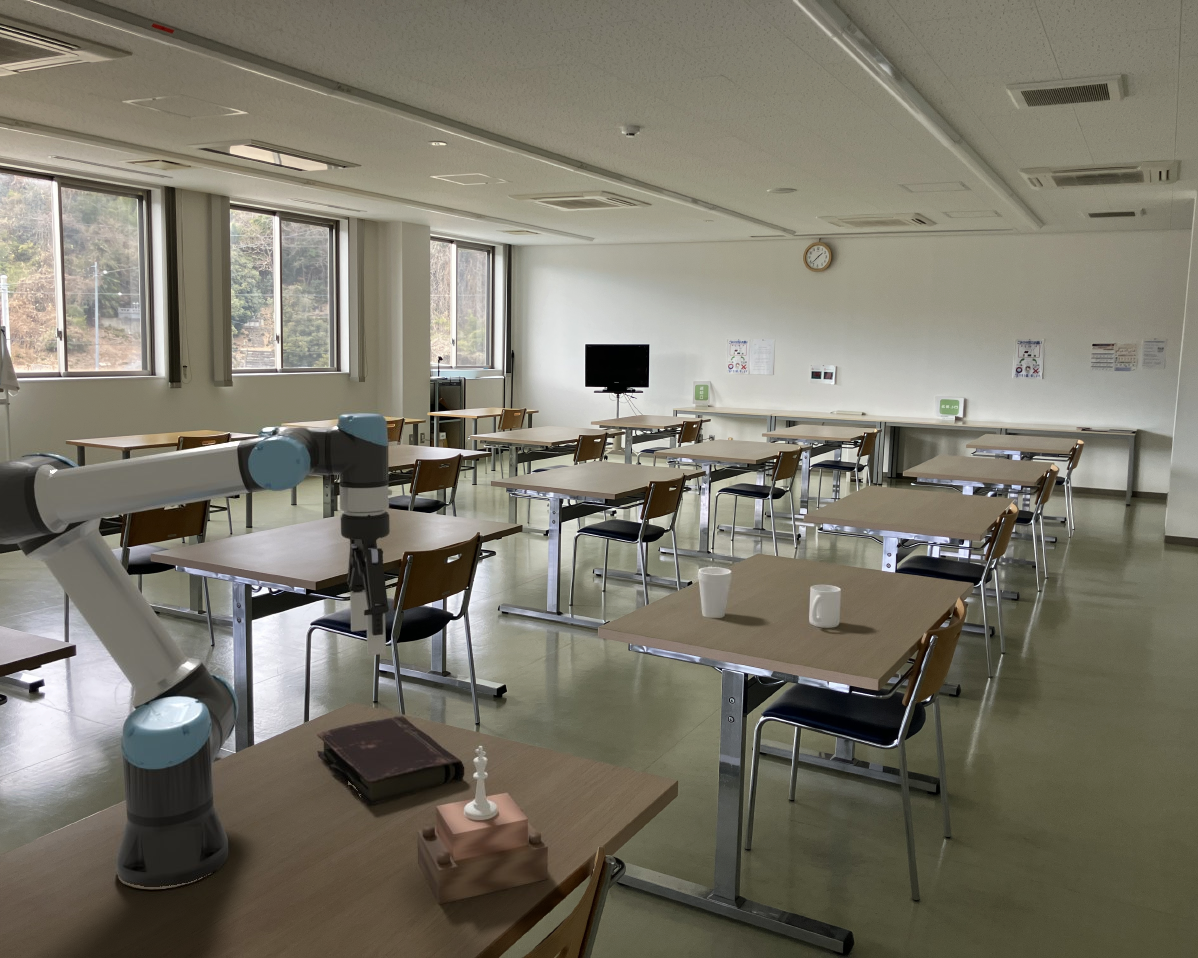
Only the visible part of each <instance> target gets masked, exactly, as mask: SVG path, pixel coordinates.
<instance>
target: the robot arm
mask: <svg viewBox="0 0 1198 958" xmlns="http://www.w3.org/2000/svg"><path fill="white" fill-rule="evenodd" d="M389 443H390V442H389V438H388V422H387V419H386V418H385V417H384V416H383V415H382V414H380V413H379V414H378V413H363V412H361V413H344V414H341V415H339V416H338V420H337V423H336V426H326V427H324V426H323V427H319V426H287V425H280V426H272V427H271V426H269V427H267V426H266V427H263V428H262V429H260V430H259V432H258V434H257V437H255V438H249V439H246V440H245V439H244V440H238V441H231V442H226V443H220V444H214V445H207V446H206V445H205V446H200V447H195V448H188V449H182V450H176V451H169V452H164V453H157V454H152V455H144V456H139V457H131V458H127V459H126V458H125V459H120V460H119V459H118V460H113V461H112V460H111V461H106V462H100V463H94V464H88V465H81V466H79V465H78V464H77V463H75V462H74V461H73V460H71V459H69V458H67V457H65V456H62V455H58V454H52V453H30V454H24V455H22V456H20V457H17V458H13V459H10V460H7V461H6V460H5V461H3V462H0V545H13V544H17V546H18V547H19V549H20V550H21V552H23V554H24V555H25V557H26V558H28V559H32V560H37V561H41V562H43V563H44V564H45V565H46V567H47V568H48V569H49V572H51V574H52V575H53V577H54V578H55V580H56V581H57V582H58V584H59V585H60V587H61V588H62V589H63V590H64V592H65V594H67V596H68V598H69V599H70V601H71V602H72V603H73V605H74V606H75V608H76V609H77V610H78V612H79V613H80V614H81V616H82V618H83V619H84V620H85V621H86V623H87V625H88V626H89V628H90V629H91V630H92V632H93V633H94V634H95V635H96V637H97V639H98V640H99V641H100V642H101V644H102V645H103V647H104V649H106V651H107V652H108V653H109V656H111V658H112V660H113V661H114V662H115V664H116V665H117V666H118V668H119V669H120V670H121V672H122V673H123V675H124V677H126V679H127V680H128V682H129V683H130V685H131V686H132V687H133V689H134V695H133V699H132V703H131V704H132V707H133V708H134V710H133V711H132V712H131V713H130V714H129V715H128V716H127V717H126V719H125V721H124V723H123V726H122V737H121V745H120V746H121V752H122V761H123V773H124V774H123V776H124V791H125V806H126V823H125V826H124V831H123V833H122V836H121V837H122V838H121V840H120V843H119V847H118V850H117V852H116V853H117V855H116V858H115V869H116V871H117V872H116V876H117V875H118V876H119V877H120V878H121V879H122V880H123V881H125V882H127V883H130V884H134V885H140V886H144V887H160V886H161V887H162V886H169V885H170V886H171V885H177V884H182V883H188V882H191V881H194V880H196V879H197V880H198V879H199V878H201V877H204V876H206V875H208V874H210V873H212V872H213V871H215V870H216V871H218V870H220V869H221V867H222V866H223V865H224V864H225V863H226V861H227V860H228V856H229V839H228V835H227V833H226V831H225V828H224V827H223V823H222V821H221V819H220V817H219V815H218V812H217V810H216V807H215V805H214V804H215V803H214V784H213V783H214V782H213V779H214V778H213V763H214V761H215V760H216V757H217V755H218V754H219V752H220V750H221V749H222V748H223V746H224V744H225V742H226V741H227V740H228V739H229V738H230V736H231V735H232V733H233V731H234V729H235V728H236V727H235V726H236V722H237V719H238V714H239V702H238V697H237V694H236V692H235V689H234V688H233V687H232V686H231V684H230V682H228V681H227V680H226V679H225V678H223V677H222V676H220V675H218V674H213V673H211V672H210V671H209V670H208V669H207V667H206V666H205V664H204V663H203V662H202V660H201V659H200V658H199V659H198V658H192V657H187V656H186V655H185V653H184V652H183V651H182V649H181V648H180V646H179V645H178V644H177V641H175V640H174V637H172V635H171V633H170V632H169V631H168V629H167V628H166V626H165V625H164V624H163V622H162V620H161V619H160V618H159V616H158V615H157V613H156V612H155V610H154V609H153V607H152V606H151V605H150V604H149V602H148V601H147V599H146V598H145V595H143V593H142V592H141V590H140V589H139V587H138V586H137V585H136V583H135V582H134V580H133V579H132V577H131V575H129V573H128V572H127V570H126V569H125V567H124V565H123V564H122V563H121V562H120V560H119V559H118V558H117V556H116V554H115V553H114V551H113V550H112V548H111V547H110V546H109V544H108V543H107V541H106V540H105V539H104V537H103V536H102V534H101V532H100V530H99V529H100V528H99V527H100V524H101V520H102V518H108V517H115V516H121V515H126V514H132V513H138V512H139V513H140V512H145V511H149V510H156V509H161V508H162V509H163V508H167V507H168V508H169V507H172V506H179V505H184V504H190V503H197V502H203V501H209V500H215V499H220V498H226V497H232V496H238V495H243V494H248V493H249V494H250V493H256V492H264V491H272V492H273V491H274V492H281V491H282V492H283V491H286V490H289V489H293V488H295V487H296V486H299V484H301V483H302V482H303V481H304V480H305V478H306V477H307V476H314V475H315V476H321V475H322V476H325V475H326V476H327V475H328V476H332V475H333V476H334V475H339V487H338V488H339V509H340V510H341V511H342V512H343V513H341V514H340V535H341V536H342V537H343V538H345V539H348V540H349V554H348V567H347V569H348V570H347V579H346V583H347V585H348V590H349V591H350V592H349V596H350V597H349V598H350V600H349V602H350V603H349V605H350V607H349V608H350V631H351V632H360V631H366V644H367V645H366V650H367V651H366V653H367V656H375V655H385V654H386V653H387V649H386V648H387V641H386V640H387V639H386V637H387V636H386V613H389V609H390V607H389V605H388V604H389V601H388V595H387V594H388V593H387V586H386V578H385V577H386V575H385V570H384V569H385V568H384V556H383V555H384V550H383V548H379V547H378V543H377V540H378V539H383V538H386V537H388V535H390V532H391V529H390V527H391V526H390V514H389V512H388V511H387V510H388V509H389V508H390V501H389V500H390V499H389V497H390V496H392V495H393V490H392V489H391V488H390V489H389V478H390V477H389V474H390V473H389V472H390V471H389V466H390V464H389ZM217 869H218V870H217ZM216 871H215V872H216ZM212 874H213V873H212ZM210 875H211V874H210ZM198 881H199V880H198Z"/></svg>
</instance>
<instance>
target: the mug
mask: <svg viewBox="0 0 1198 958" xmlns="http://www.w3.org/2000/svg"><path fill="white" fill-rule="evenodd" d="M809 595H810V596H809V611H808V612H809V614H808V615H809V618H808V620H809V621H808V622H809V624H810V625H812V626H813V627H816V628H817V627H818V628H821V629H822V628H824V629H830V628H831V629H833V628H836V627H838V626H839V624H840V619H841V616H840V615H841V597H842V589H841V588H840V587H838V586H835V585H831V584H830V585H829V584H816V585H812V586H810V594H809Z"/></svg>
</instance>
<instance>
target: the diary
mask: <svg viewBox="0 0 1198 958" xmlns="http://www.w3.org/2000/svg"><path fill="white" fill-rule="evenodd" d="M316 737H318V738H319V739H320V740H321V741H323V751H321V750H317V751H316V753H317V755H318V756H319V757H320V758H321V760H322V761H323V762H324V763H325V764H326V765H327V766H328V767H329V768H330V769H331V771H333V772H334V773H335V775H337V776H338V777H340V779H341V778H342V779H341V780H342V781H343V783H345V785H346V786H348V787H349V785H348V781H349V782H350V783H351V784H352V785H354V786H355V787H356V789H357V790H358V791H356V793H357V792H358V793H359V794H361V795H360V796H361V798H362V799H363V800H362V799H361V798H360V799H361V800H362V802H363V803H364V802H365V803H366V804H365V803H364V804H365V805H366V806H367V807H368V808H371V807H374V806H378V805H381V804H384V803H388V802H391V801H395V800H398V799H402V798H405V797H409V796H413V795H416V794H417V793H416V792H417V791H421V790H425V789H428V787H429V788H432V787H436V786H439V784H440V785H442V783H443V784H445V782H447V781H448V782H447V783H449V782H451V781H452V779H453V778H455V779H456V778H457V779H456V780H458V781H459V782H463V779H464V776H465V766H464V764H463V761H461V759H460V758H458V757H457V756H455V755H453V754H452V752H450V751H448V750H447V749H445V748H444V747H443V746H441V745H440V744H439V743H438V742H437V741H435V739H434V738H432V737H431V736H430V735H428V734H427V733H425V732H424V731H423V730H421V729H419V728H418V727H416V726H415V725H414V724H413V723H411V721H409V719H407V718H406V717H405V716H404V715H403V714H402V715H397V716H393V717H388V718H384V719H377V720H370V721H364V722H358V723H353V724H349V725H344V726H340V727H337V728H332V729H329V730H325V731H322V732H319V733H317V734H316ZM444 779H445V780H444ZM435 785H436V786H435ZM358 793H357V794H358Z"/></svg>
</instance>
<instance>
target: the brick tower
mask: <svg viewBox="0 0 1198 958" xmlns="http://www.w3.org/2000/svg"><path fill="white" fill-rule="evenodd" d="M474 799H475V798H471V799H466V800H462V801H456V802H449V803H445V804H440V805H436V807H435V811H436V812H435V813H436V814H435V815H436V817H435V818H436V819H435V821H436V823H435V824H436V825H435V826H434V825H425V826H423V827H422V829H417V830H416V832H417V833H416V834H417V835H416V836H417V837H416V838H417V863H418V865H419V867H420V869H421V871H422V873H423V875H424V877H425V879H426V881H427V882H428V885H429V887H430V889H431V890H432V892H433V893H432V894H433V895H434V897H435V899H436V900H437V903H438V904H439V905H442V904H447V903H452V902H455V901H459V900H464V899H468V898H472V897H477V896H481V895H485V894H489V893H493V892H498V891H503V890H506V889H511V888H517V887H519V886H524V885H527V884H533V883H537V882H540V881H545V880H548V878H549V877H548V875H549V873H548V872H549V869H548V868H549V863H548V861H549V860H548V859H549V858H548V855H549V854H548V851H549V850H548V849H549V846H548V844H546V842H545V841H544V839H542V834H541V833H540V832H539V831H536V829H535V828H534V827H533V826H532V824H531V823H530V822H529V818H528V817H527V816H526V815H525V813H524V812H523V810H522V809H521V808H520V807H519V805H518V804H517V803H516V801H514V799H513V798H512V797H511V795H510V794H509V793H508V792H504V793H498V794H492V795H488V796H487V795H486V799H488V800H489V801H492V802H494V803H495V804H496V805H497V810H498V813H497V814H496V815H495V816H494V817H492V818H490V819H486V820H472V819H469V818H467V817H466V816H465V815H464V807H465V806H466V805H467V804H468V803H470V802H472V801H473V800H474Z"/></svg>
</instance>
